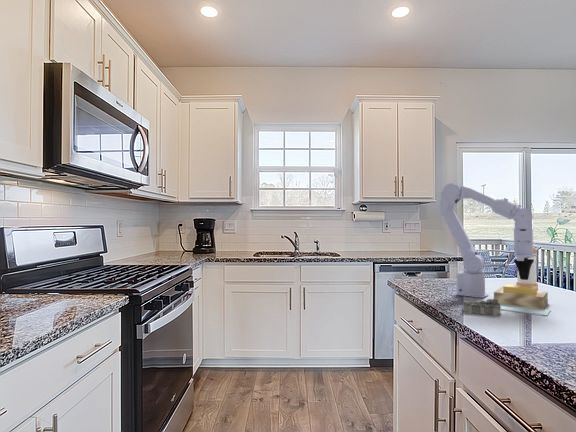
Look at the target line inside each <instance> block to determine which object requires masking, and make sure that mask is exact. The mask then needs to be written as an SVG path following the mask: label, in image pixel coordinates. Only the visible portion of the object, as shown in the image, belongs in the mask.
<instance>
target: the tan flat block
mask: <svg viewBox="0 0 576 432" xmlns="http://www.w3.org/2000/svg"><path fill="white" fill-rule="evenodd" d="M548 293H549V292H548V291H542V290H538V291H537V293H536V294H535V295H525V294H516V293H507V292H503V286H502V287H500V288H498V289H497V290H494V291H493V299H498V301H499V304H507V305H515V306H523V307H531V308H539V309H546V307H547V305H548V303H549V302H548V296H549V295H548Z"/></svg>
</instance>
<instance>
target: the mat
mask: <svg viewBox="0 0 576 432" xmlns="http://www.w3.org/2000/svg"><path fill="white" fill-rule="evenodd" d="M500 306H501V308H500V310H501V311H507V312H514V313H522V314H529V315H536V316H541V317H542V316H543V317H548V316H549V314H550V313H551V309H547V308H544V309H539V308H531V307H523V306H515V305H507V304H500Z"/></svg>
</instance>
